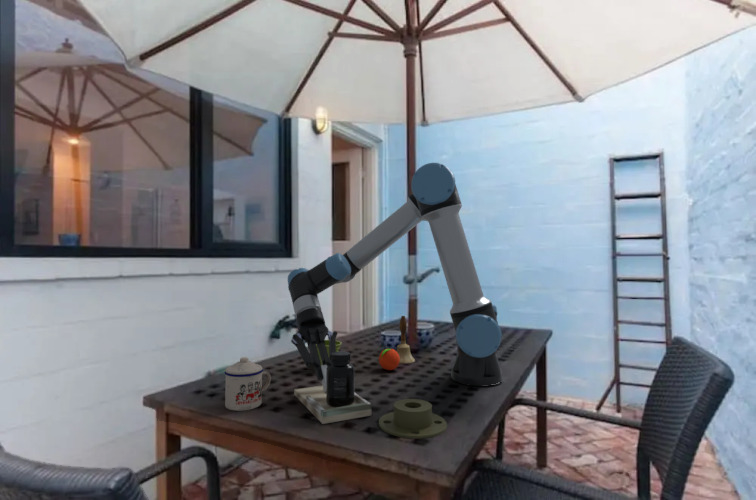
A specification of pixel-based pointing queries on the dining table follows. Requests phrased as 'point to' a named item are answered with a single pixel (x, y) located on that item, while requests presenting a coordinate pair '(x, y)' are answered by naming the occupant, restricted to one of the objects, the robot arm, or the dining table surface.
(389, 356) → the clementine
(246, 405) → the teacup with lid
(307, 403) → the rail board
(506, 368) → the dining table surface
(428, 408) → the flange
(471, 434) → the dining table surface
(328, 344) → the plant pot
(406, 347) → the hand bell
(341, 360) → the supplement bottle
